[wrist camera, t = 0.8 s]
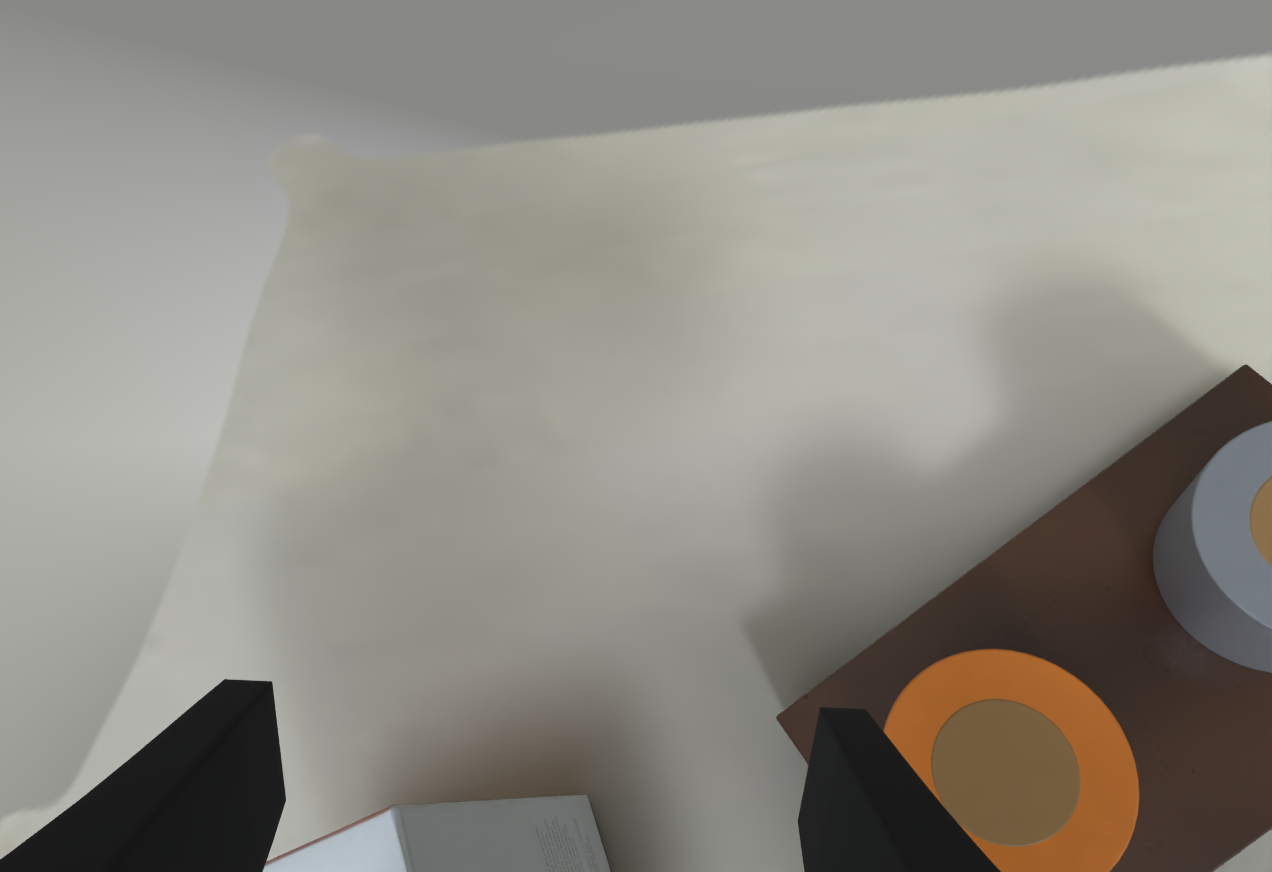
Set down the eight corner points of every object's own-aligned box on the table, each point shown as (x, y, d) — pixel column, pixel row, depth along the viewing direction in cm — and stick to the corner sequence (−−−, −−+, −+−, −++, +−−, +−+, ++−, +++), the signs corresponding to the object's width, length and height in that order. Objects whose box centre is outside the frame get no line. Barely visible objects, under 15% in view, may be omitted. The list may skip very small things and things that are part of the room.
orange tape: (1156, 803, 20) (1200, 807, 17) (984, 931, 20) (992, 960, 17) (1002, 629, 22) (1013, 601, 19) (847, 745, 22) (832, 738, 19)
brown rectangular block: (1495, 634, 21) (1563, 617, 19) (989, 1005, 22) (995, 1031, 19) (1217, 401, 25) (1246, 362, 23) (789, 723, 25) (774, 716, 23)
